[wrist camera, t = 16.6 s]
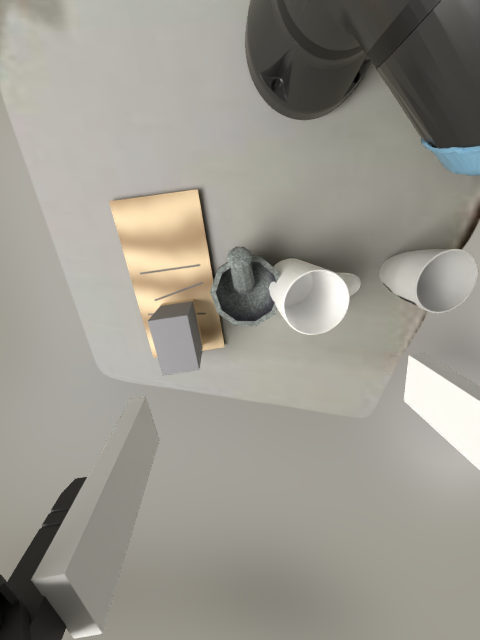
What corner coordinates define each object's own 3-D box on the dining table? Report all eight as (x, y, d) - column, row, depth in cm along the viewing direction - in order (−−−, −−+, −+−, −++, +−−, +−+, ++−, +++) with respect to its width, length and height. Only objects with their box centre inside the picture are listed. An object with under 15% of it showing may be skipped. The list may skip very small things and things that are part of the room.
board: (112, 202, 34) (109, 201, 33) (198, 190, 35) (197, 189, 34) (155, 355, 42) (153, 358, 41) (224, 344, 43) (224, 347, 42)
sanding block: (161, 303, 38) (147, 321, 31) (193, 299, 39) (187, 315, 31) (173, 349, 41) (162, 375, 34) (203, 344, 41) (199, 370, 34)
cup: (364, 292, 41) (406, 310, 32) (378, 242, 39) (428, 245, 29) (408, 297, 42) (462, 315, 33) (425, 248, 40) (489, 252, 30)
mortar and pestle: (278, 303, 41) (300, 330, 30) (224, 319, 41) (225, 351, 30) (261, 234, 37) (279, 234, 26) (202, 252, 37) (194, 260, 26)
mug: (339, 297, 41) (383, 322, 30) (269, 313, 41) (288, 343, 30) (335, 247, 39) (383, 253, 27) (261, 264, 39) (277, 277, 27)
